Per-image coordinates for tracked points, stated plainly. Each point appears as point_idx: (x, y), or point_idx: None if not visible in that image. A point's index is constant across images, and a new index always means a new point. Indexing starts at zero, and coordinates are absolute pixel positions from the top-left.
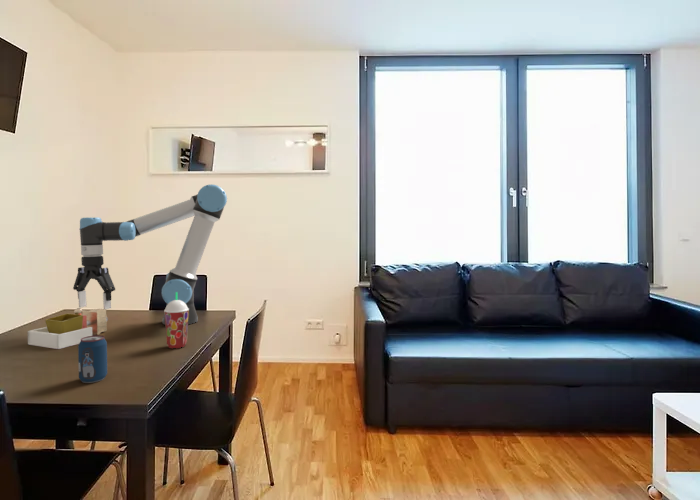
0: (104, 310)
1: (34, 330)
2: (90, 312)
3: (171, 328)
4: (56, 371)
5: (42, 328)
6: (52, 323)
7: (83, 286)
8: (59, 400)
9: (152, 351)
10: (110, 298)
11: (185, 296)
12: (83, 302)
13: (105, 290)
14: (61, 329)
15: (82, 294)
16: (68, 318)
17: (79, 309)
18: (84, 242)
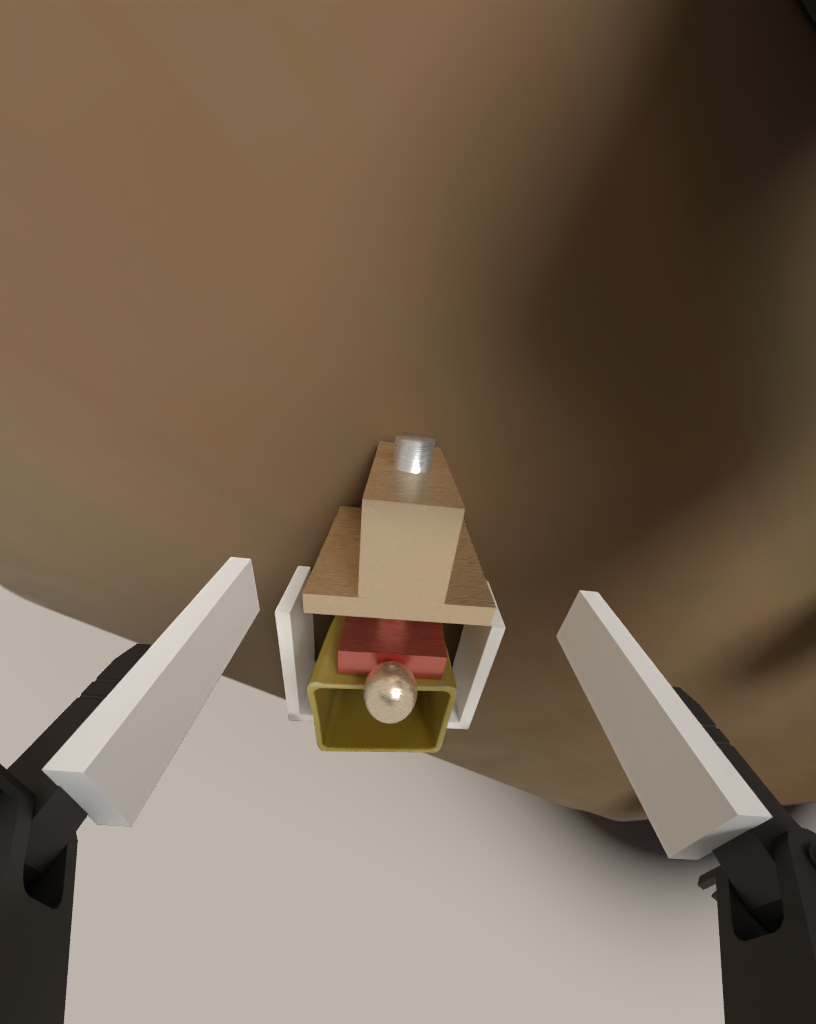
0: (459, 521)
1: (299, 707)
2: (418, 616)
3: None
4: (595, 761)
5: (297, 688)
6: (372, 732)
7: (32, 989)
8: None
9: (807, 630)
10: (698, 721)
11: None
12: (230, 621)
13: (766, 933)
14: (424, 704)
15: (158, 735)
16: (335, 660)
17: (408, 714)
18: None
